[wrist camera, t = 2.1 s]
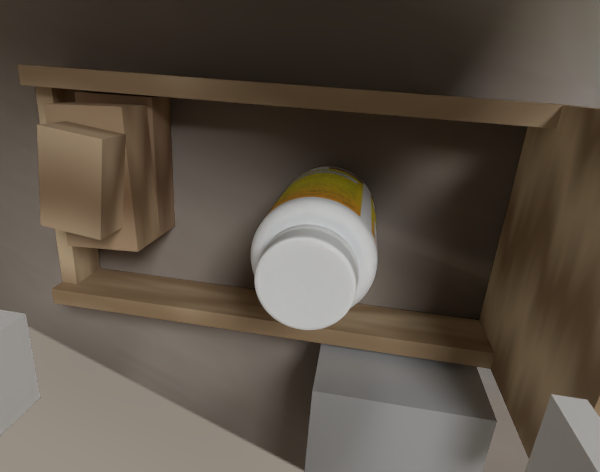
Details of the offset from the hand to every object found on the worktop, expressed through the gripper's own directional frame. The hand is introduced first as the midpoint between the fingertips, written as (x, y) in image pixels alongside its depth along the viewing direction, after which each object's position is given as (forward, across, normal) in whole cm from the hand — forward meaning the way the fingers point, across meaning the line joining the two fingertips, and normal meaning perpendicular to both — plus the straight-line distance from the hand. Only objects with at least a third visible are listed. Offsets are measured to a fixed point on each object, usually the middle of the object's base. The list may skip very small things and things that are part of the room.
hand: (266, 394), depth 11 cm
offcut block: (+11, -12, +2) cm, 16 cm away
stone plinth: (+16, +5, -12) cm, 20 cm away
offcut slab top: (+14, -12, +2) cm, 18 cm away
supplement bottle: (+16, 0, 0) cm, 16 cm away
